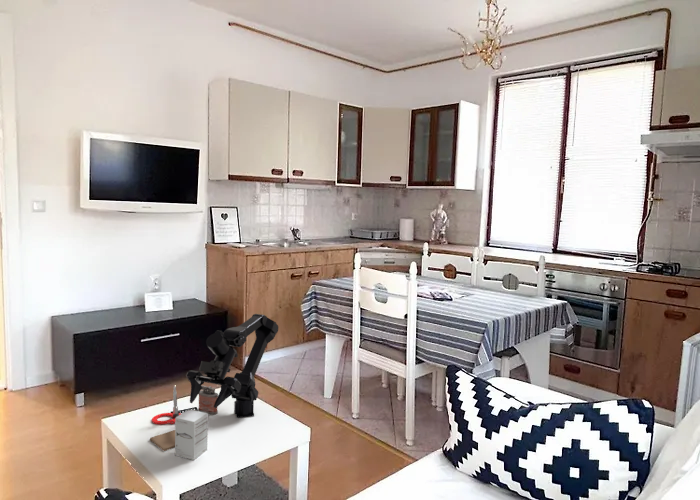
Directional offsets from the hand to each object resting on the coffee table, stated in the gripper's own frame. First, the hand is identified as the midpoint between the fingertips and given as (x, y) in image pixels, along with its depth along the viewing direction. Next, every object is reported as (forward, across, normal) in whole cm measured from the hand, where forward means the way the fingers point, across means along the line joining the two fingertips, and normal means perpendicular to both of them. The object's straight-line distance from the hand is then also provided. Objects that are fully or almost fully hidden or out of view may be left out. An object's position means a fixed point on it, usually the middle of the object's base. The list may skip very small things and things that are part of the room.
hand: (202, 405), depth 162 cm
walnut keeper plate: (+11, -11, +8) cm, 17 cm away
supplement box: (+14, 0, +6) cm, 15 cm away
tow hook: (+3, -23, +17) cm, 29 cm away
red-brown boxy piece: (-6, -13, +25) cm, 29 cm away
